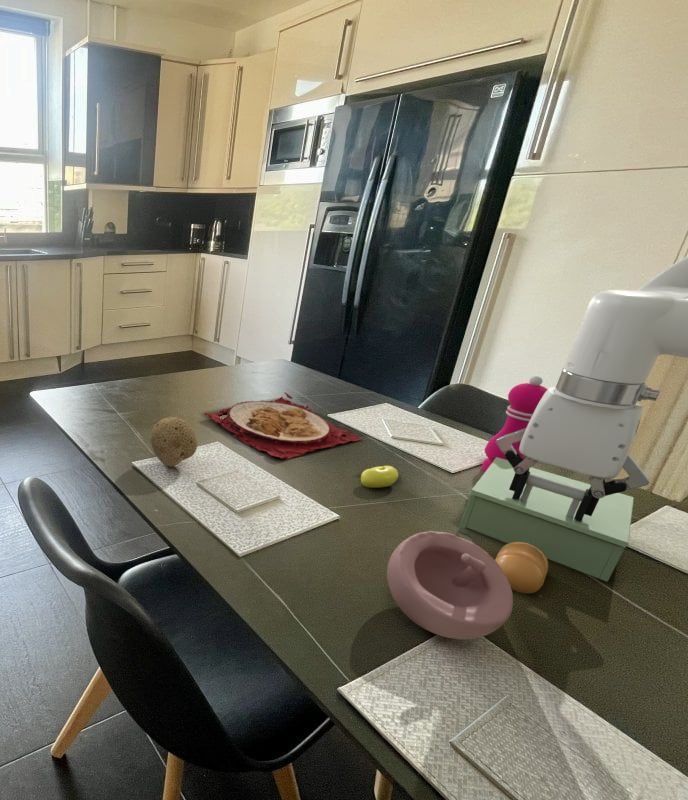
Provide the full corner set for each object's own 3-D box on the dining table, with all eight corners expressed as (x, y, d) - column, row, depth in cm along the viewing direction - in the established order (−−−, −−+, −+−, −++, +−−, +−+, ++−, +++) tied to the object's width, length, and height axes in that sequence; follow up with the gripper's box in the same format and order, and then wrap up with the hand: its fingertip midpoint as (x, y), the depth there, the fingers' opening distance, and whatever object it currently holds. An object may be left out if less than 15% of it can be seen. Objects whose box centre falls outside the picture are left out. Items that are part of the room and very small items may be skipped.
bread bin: (603, 589, 65) (624, 548, 63) (457, 531, 77) (470, 494, 74) (613, 539, 76) (631, 502, 73) (482, 494, 87) (495, 461, 85)
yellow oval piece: (351, 482, 91) (356, 464, 89) (385, 476, 93) (390, 458, 91) (369, 494, 87) (374, 475, 85) (404, 488, 89) (410, 469, 88)
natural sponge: (180, 451, 101) (184, 407, 98) (203, 471, 94) (209, 424, 90) (141, 457, 98) (144, 412, 95) (162, 479, 91) (166, 431, 87)
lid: (625, 548, 62) (642, 514, 61) (469, 494, 74) (480, 465, 72) (631, 501, 73) (646, 472, 71) (495, 461, 85) (504, 435, 83)
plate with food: (202, 419, 117) (203, 406, 116) (281, 401, 127) (283, 389, 126) (275, 464, 98) (278, 449, 96) (362, 439, 108) (365, 425, 106)
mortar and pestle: (401, 655, 55) (428, 575, 51) (362, 581, 66) (382, 510, 62) (518, 671, 53) (556, 589, 49) (459, 592, 64) (485, 520, 60)
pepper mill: (483, 460, 99) (516, 367, 92) (529, 475, 94) (568, 377, 87) (473, 471, 95) (507, 375, 88) (520, 487, 90) (560, 385, 82)
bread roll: (532, 609, 62) (547, 577, 60) (482, 587, 65) (494, 556, 64) (543, 578, 67) (557, 547, 65) (497, 559, 71) (508, 529, 69)
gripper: (698, 400, 59) (635, 524, 66) (517, 367, 71) (479, 474, 78) (700, 416, 54) (632, 547, 61) (506, 377, 66) (467, 490, 73)
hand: (547, 505), depth 69 cm, fingers closed on lid, 6 cm apart
